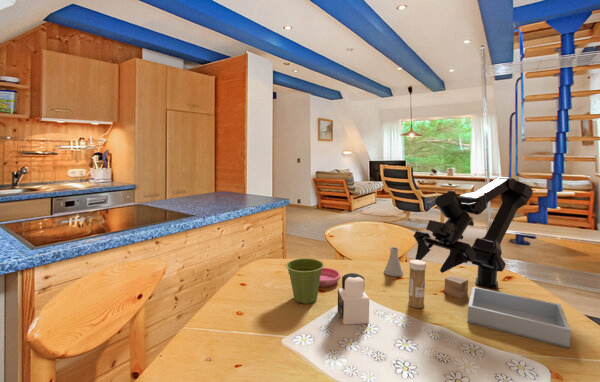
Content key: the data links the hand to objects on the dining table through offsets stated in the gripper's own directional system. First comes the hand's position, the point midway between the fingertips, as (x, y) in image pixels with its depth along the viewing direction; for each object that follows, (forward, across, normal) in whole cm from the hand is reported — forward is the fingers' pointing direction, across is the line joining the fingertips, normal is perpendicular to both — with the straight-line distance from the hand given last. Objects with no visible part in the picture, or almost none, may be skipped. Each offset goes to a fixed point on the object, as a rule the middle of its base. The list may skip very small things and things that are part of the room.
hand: (427, 266), depth 91 cm
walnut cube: (-1, 0, +17) cm, 17 cm away
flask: (+3, -22, +13) cm, 26 cm away
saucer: (+23, -28, -6) cm, 36 cm away
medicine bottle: (+26, -3, -10) cm, 28 cm away
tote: (-1, +18, +16) cm, 24 cm away
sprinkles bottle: (+11, 0, +5) cm, 12 cm away
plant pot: (+31, -18, -15) cm, 39 cm away
